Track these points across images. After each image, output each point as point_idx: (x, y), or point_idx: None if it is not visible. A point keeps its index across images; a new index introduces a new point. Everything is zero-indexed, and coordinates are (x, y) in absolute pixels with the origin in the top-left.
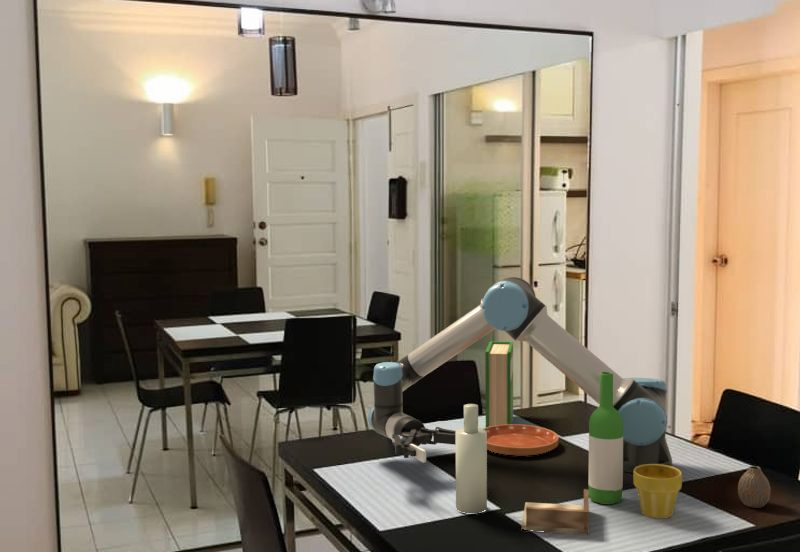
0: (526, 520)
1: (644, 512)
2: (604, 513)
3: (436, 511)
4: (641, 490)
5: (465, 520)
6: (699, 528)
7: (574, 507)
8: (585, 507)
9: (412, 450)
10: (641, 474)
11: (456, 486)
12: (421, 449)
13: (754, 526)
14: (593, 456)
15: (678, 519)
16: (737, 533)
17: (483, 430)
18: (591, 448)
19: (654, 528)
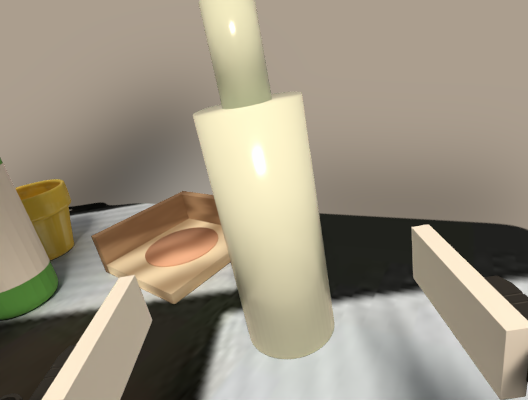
0: None
1: (69, 245)
2: (98, 262)
3: (396, 335)
4: (63, 211)
5: (337, 279)
6: (76, 222)
7: (126, 262)
8: (172, 198)
9: (496, 277)
10: None
11: (325, 267)
12: (434, 239)
13: None
14: (15, 208)
15: None
16: None
17: (202, 111)
18: (3, 195)
19: (110, 226)
